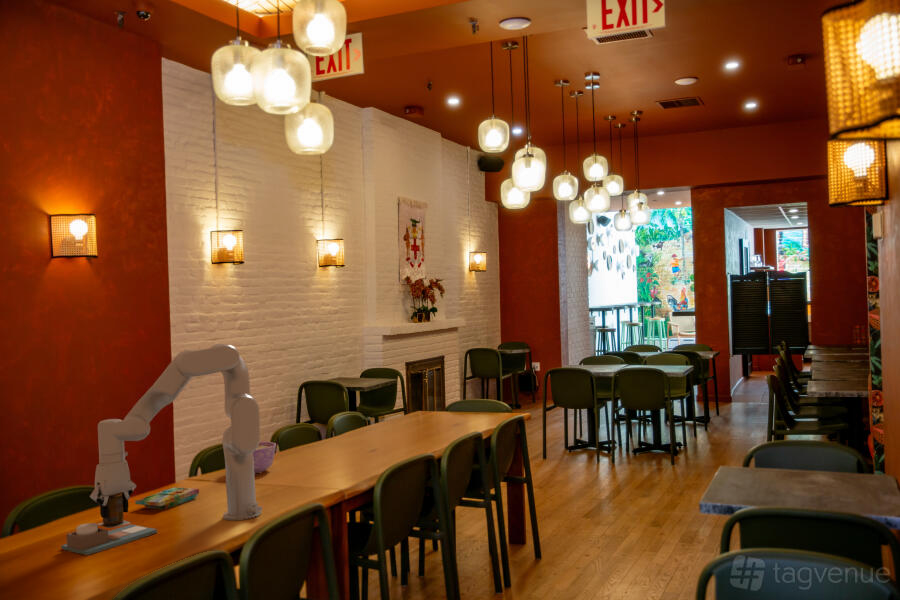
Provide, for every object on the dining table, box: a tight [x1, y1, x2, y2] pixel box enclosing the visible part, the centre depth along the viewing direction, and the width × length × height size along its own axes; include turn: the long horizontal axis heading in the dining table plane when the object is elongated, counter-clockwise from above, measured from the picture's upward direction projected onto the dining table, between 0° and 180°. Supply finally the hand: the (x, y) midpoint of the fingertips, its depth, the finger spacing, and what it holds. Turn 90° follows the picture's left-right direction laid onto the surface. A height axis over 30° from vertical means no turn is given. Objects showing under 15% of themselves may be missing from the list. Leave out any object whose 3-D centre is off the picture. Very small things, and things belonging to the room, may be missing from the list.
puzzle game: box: [135, 487, 200, 510], centre depth 286 cm, size 12×5×20 cm
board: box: [60, 524, 158, 556], centre depth 242 cm, size 14×24×5 cm, turn 147°
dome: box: [75, 522, 99, 537], centre depth 236 cm, size 6×6×3 cm
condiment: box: [97, 493, 131, 529], centre depth 243 cm, size 7×8×12 cm
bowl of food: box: [253, 441, 277, 475], centre depth 334 cm, size 20×20×12 cm
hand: (114, 514), depth 244 cm, fingers closed on condiment, 6 cm apart
